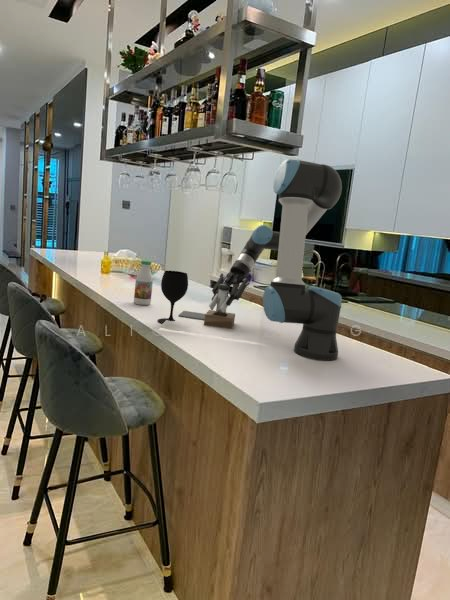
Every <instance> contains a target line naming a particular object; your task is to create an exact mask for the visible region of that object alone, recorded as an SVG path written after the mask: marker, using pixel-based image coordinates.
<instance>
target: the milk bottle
mask: <svg viewBox="0 0 450 600" xmlns="http://www.w3.org/2000/svg"><path fill="white" fill-rule="evenodd" d="M151 266H152V261H151V260H145V259H143V260H142V259H141V260H140V269H139V271H138V273H137V274H136V278H135V285H134V293H133V294H134V295H133V303H134V304H136V305H141V306H149V305H151V303H152V293H153V284H154V283H153V281H154V277H153V274H152V271H151Z"/></svg>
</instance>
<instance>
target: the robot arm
mask: <svg viewBox="0 0 450 600" xmlns="http://www.w3.org/2000/svg"><path fill="white" fill-rule="evenodd" d="M342 182H343V181H342V179H341V177H340V175H339V172H338V171H337V170H336V169H335V168H333V167H332V166H330V165H327V164H323V163H322V164H320V163H316V162H311V161H306V160H305V161H304V160H301V159H292V158H289V159H288V158H287V159H285V160H284V161H283V162H282V163H281V164H280V165H279V167H278V169H277V171H276V173H275V176H274V181H273V192H274V193H275V194H276V195H278V202H279V204H280V205H281V206H282V208H281V219H280V220H281V221H280V227H279V228H280V230H279V231H273V230H272V228H271V227H269V226H267V225H265V224H261V225H258V226H257V227H256V228H255V229H254V230H253V231H252V234H251V235H250V237H249V239H248V240H247V242H246V244H245V245H244V246H243V248H242V250H241V252H240V254H239V255H238V257H237V258H236V259H235V261H234V262H233V265H232V266H231V268H230V270H229V272H228V273H226V274H224V273H220V274H219V278H218V280H217V281H216V283H215V285H214V286H213V288H212V290H211V292H212V294H213V296H212V297H211V302H210V303H209V305H208V306H209V308H210V309H209V310H213V311H214V309H215V307H217V299H218V292H219V284H227V285H230V287H231V286H232V287H231V291H230V294H229V293H228V296H227V298H226V299H225V301H224V303H223V304H222V306H221V308H220V309H221V311H222V313H224V312H225V310H226V311H227V309H228V307H230V306H231V305H232V303H233V301H235V300H236V301H239V300H240V298H241V296H242V295H243V293H244V292H245V290H246V288H247V287H248V286H249V285H250V284H251V283H250V281H249V278H247V277H248V276H249V274H250V272H251V270H252V269H253V267H254V265H255V264H256V262H257V260H258V259H259V257H260V256H261V254H262V253H263V251H265V250H272V251H277V258H276V259H277V262H276V270H275V276H274V278H273V279H272V280H270V285H269V286H266V287H265V288H264V291H263V294H262V295H263V296H262V304H263V305H262V307H263V312H264V315H265V316H266V319H268V320H269V321H271V322H277V323H281V324H283V323H285V324H287V323H288V324H299V325H300V324H302V328H301V331H300V333H299V336H298V337H297V340H296V341H295V343H294V346H293V347H294V348H293V351H294V353H296V354H298V355H299V356H302V357H305V358H308V359H312V360H319V361H335V360H338V356H339V348H338V342H337V341H338V340H337V330H338V325H339V319H340V313H341V308H342V301H343V300H342V299H343V297H342V295H341V294H340V293H339V292H335V291H334V290H333V291H332V290H331V289H326V288H323V287H318V286H315V285H310V286H309V287H308V289H306V283H305V282H304V281H303V279H302V277H303V276H302V275H303V265H304V254H305V245H306V236H307V235H308V233H309V232H310V231H311V229H313V227H314V226H315V225H316V224H317V222H318V221H319V220H320V219H321V218H322V216H323V215H324V214H325V213H326V211H327V210H330V209H332V208H333V207H334V206H336V204H337V203H338V201H339V199H340V198H341V195H342V190H343V185H342V184H343V183H342Z"/></svg>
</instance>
